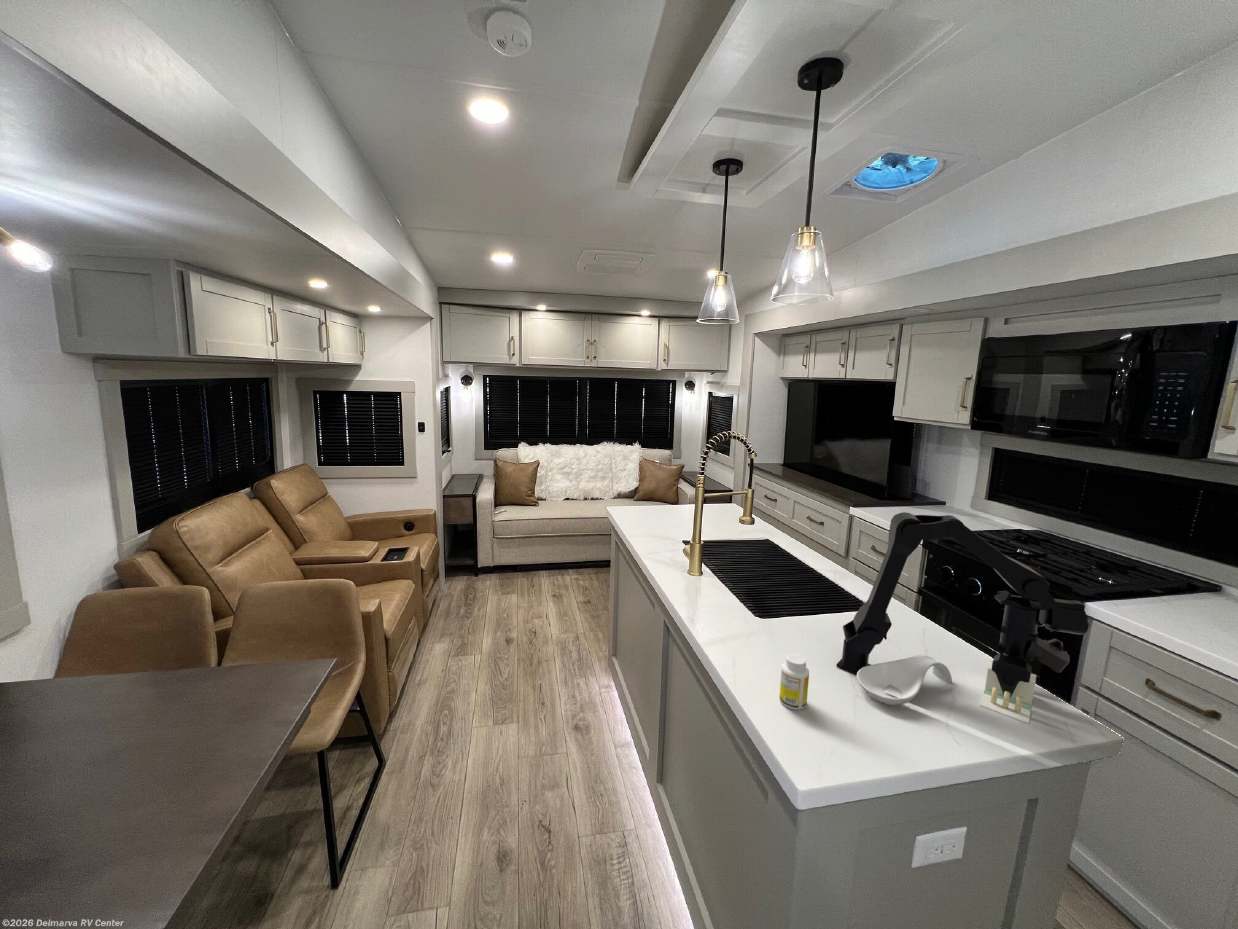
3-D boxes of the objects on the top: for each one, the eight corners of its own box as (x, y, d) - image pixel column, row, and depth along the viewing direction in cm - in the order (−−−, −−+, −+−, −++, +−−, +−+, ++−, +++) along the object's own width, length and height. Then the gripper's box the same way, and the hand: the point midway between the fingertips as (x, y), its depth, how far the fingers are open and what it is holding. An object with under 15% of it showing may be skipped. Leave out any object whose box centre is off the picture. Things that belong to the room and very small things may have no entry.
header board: (1027, 729, 97) (1031, 708, 96) (978, 710, 102) (981, 690, 101) (1032, 698, 107) (1035, 679, 106) (987, 682, 112) (990, 664, 112)
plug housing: (1031, 705, 103) (1035, 683, 102) (984, 688, 108) (988, 668, 107) (1032, 695, 106) (1036, 675, 105) (987, 680, 111) (990, 660, 110)
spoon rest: (887, 719, 99) (891, 687, 98) (843, 686, 110) (846, 657, 109) (966, 697, 107) (971, 667, 106) (918, 668, 118) (921, 641, 117)
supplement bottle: (798, 694, 106) (802, 651, 105) (811, 710, 101) (815, 665, 99) (774, 695, 106) (778, 652, 104) (785, 711, 100) (789, 666, 99)
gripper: (1069, 655, 92) (1056, 728, 95) (1070, 623, 106) (1058, 687, 108) (996, 634, 100) (985, 702, 102) (1006, 606, 113) (996, 667, 116)
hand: (1008, 690), depth 107 cm, fingers open, 7 cm apart
